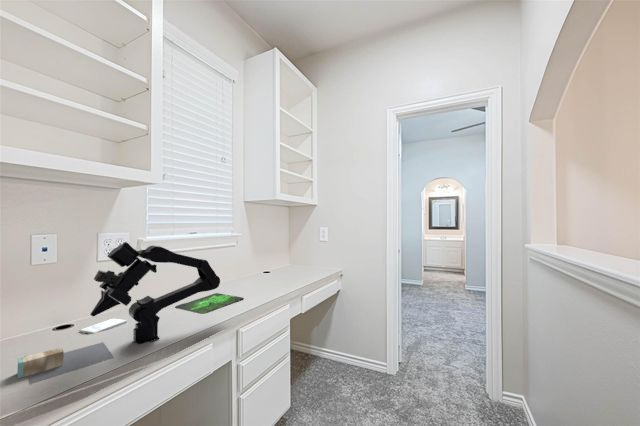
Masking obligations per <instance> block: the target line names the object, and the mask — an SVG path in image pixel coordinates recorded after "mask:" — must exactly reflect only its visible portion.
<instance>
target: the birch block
mask: <svg viewBox="0 0 640 426" xmlns="http://www.w3.org/2000/svg"><path fill="white" fill-rule="evenodd" d="M64 353H65V351H64V349H63V347H57V348H53V349H51V350H45V351H41V352H38V353H33V354H30V355H26V356H23V357H19V358H17V373H16V375H17V379H21V378H24V377H29V375H32V374H35V373H38V372H42V371H45V370H49V369H52V368H55V367H59V366H62V365H63V354H64Z"/></svg>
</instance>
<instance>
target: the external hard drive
mask: <svg viewBox="0 0 640 426" xmlns="http://www.w3.org/2000/svg"><path fill="white" fill-rule="evenodd" d="M127 322H128V321H127V320H126V319H121V318H110V319H108V320H104V321H102V322H98V323H96V324H92V325H90V326H87V327H84V328H80V329H79V330H78V331H79V333H82V334H88V335H93V334H96V333H100V332H104V331H108V330H112V329H113V328H116V327H119V326H121V325H124V324H127Z"/></svg>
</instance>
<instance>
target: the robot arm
mask: <svg viewBox="0 0 640 426" xmlns="http://www.w3.org/2000/svg"><path fill="white" fill-rule="evenodd" d="M107 258H109V259H110V260H111V261H112V262H114V263H115V264H117V265H118V266H119V267H120V268H124V267H128V268H126V269H125V270H124V271H121V272H120V271H119V272H118V273H117V274H116V273H115V271H111V270H107V271H104V270H99V269H98V271H97V272H96V274H95V276H94V278H93V280H94V281H95V282H98V283H101V284H100V285H99V286H98V287H99V288H101V290H100V299H99V300H98V302H97V303H96V305H95V307H94V308H93V309H92V311H91V312H90V316H92V317H95V316H98V315H100V314H101V313H104V312H106V311H108V310H110V309H112V308H114V307H117V306H118V305H121V304H122V305H124V306H126V307H127V306H128V305H129V304H130V303H131V302H132V296H130V295H129V294H130V293H129V292H130V291H131V290H132V289H133V288H134V287H135V286H136V287H137V286H138V285H139V284H140V281H141V280H142V279H144V277H145V276H146V275H147V273H148V272H150V271H151V272H153V273H155V274H156V273H157V271H158V270H157V264H155V263H164V264H166V263H167V264H168V263H173V264H177V265H181V266H187V267H192V268H196V270H197V274H198V276H199V277H198V278H197V279H196V280H195V281H193V282H192V283H190V284H187V285H185V286H182V287H179V288H177V289H175V290H172V291H171V292H168V293H165V294H163V295H161V296H158V297H155V298H154V297H152V296H150V295H146V296H145V297H143V298H140V299H136V300H135V302H133V303H132V304H131V305H130V306H129V309H128V315H129V317H131V318H132V319H133V320H134V321H135V322H136V323H134V325H135V326H134V327H135V328H133V331H132V332H133V335H132V336H133V337H132V338H133V341H134V342H135V343H136V344H137V345H141V344H145V343H148V342H149V343H150V342H154V341H157V340H160V336H158V332H159V331H158V330H159V329H158V328H159V327H158V326H159V325H158V323H159V320H160V317H159V316H158V315H157V314H158V313H159V312H160V311H161V310H163V309H164V308H167V307H169V306H172V305H173V304H176V303H178V302H180V301H183V300H186V299H187V298H189V297H191V296H194V295H196V294H198V293H203V292H209V291H212V290H213V291H214V290H216V289H218V288H219V286H220V284H221V278H220V277H219V276H218V275H217V274H216V272H215V270H214V269H213V268H212V267H211V265H210V263H209V261H208V260H206V259H202V258H196V257H192V256H188V255H184V254H179V253H176V252H173V251H171V250H169V249H167V248H165V247H163V246H160V245H149V246H148V247H146V248H145V249H140V250H136V249H135V248H134V247H132V245H130V243H129V242H127V241H124V242H123V243H122V244H120V245H117V247H114V248H113V249H112V250H111V251H109V253H108V255H107ZM140 258H141V259H145V260H141V259H140ZM150 262H153V264H151V263H150Z"/></svg>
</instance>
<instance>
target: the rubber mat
mask: <svg viewBox="0 0 640 426" xmlns="http://www.w3.org/2000/svg"><path fill="white" fill-rule="evenodd" d="M112 359H115V356H114V355H113V354H112V352H111V351H110V350H109V348H108V347H107V345H106V344H105V343H104V342H99V343H95V344H92V345H87V346H84V347H81V348H77V349H72V350H69V351H64V354H63V365H62V366H59V367H55V368H52V369H49V370H45V371H42V372H38V373H35V374H32V375H28V383H29V385H32V384H35V383H39V382H41V381H45V380H49V379H51V378H55V377H57V376H62V375H64V374H67V373H70V372H73V371H74V372H75V371H77V370H80V369H83V368H86V367H89V366H93V365H96V364H99V363H102V362H105V361H108V360H112Z"/></svg>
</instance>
